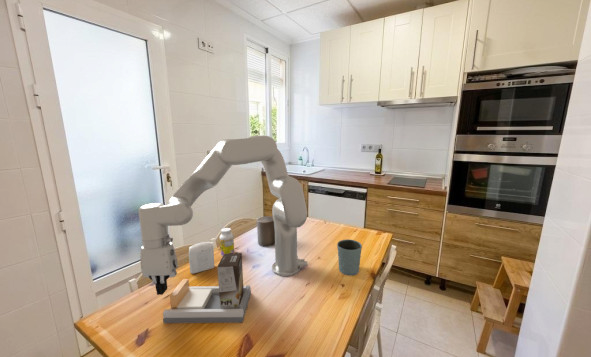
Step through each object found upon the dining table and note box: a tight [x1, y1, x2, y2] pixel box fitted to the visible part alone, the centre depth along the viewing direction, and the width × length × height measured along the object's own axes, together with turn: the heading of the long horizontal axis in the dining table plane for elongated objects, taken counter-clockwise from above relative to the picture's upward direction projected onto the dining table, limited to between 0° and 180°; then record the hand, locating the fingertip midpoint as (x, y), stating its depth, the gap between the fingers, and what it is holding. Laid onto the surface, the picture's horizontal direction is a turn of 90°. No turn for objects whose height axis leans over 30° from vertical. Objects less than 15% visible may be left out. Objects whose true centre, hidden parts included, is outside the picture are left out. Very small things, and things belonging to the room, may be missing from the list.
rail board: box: [162, 284, 252, 324], centre depth 81 cm, size 25×14×4 cm, turn 90°
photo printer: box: [188, 241, 215, 275], centre depth 105 cm, size 10×4×12 cm, turn 123°
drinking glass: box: [336, 239, 363, 277], centre depth 102 cm, size 10×10×12 cm
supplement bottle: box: [219, 227, 235, 257], centre depth 118 cm, size 7×7×13 cm
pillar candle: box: [256, 216, 275, 248], centre depth 130 cm, size 10×10×15 cm
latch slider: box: [169, 278, 212, 309], centre depth 81 cm, size 10×9×6 cm
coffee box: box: [216, 252, 244, 309], centre depth 80 cm, size 9×6×16 cm
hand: (162, 292), depth 81 cm, fingers closed
